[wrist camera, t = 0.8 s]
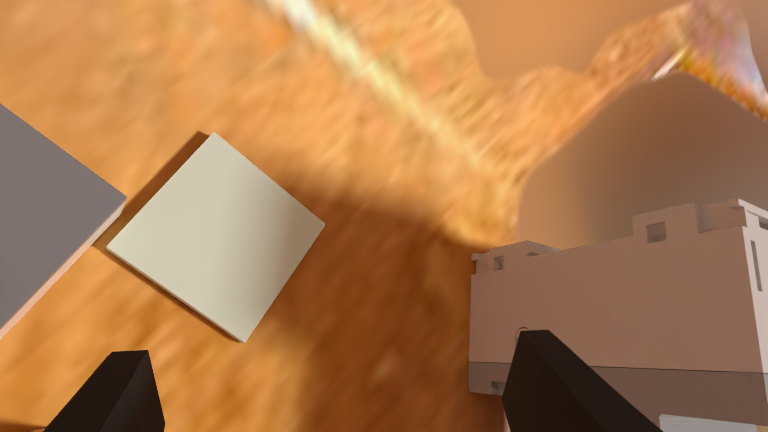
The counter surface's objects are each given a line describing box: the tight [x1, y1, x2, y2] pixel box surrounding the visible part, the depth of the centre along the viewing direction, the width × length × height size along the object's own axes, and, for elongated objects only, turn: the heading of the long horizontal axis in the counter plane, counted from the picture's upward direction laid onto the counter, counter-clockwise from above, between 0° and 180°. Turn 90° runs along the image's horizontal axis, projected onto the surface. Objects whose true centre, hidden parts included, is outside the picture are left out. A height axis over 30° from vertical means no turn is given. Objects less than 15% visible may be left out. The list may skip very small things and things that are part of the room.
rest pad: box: [106, 132, 326, 343], centre depth 23 cm, size 7×7×1 cm
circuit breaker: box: [468, 199, 768, 432], centre depth 25 cm, size 8×14×15 cm, turn 174°
